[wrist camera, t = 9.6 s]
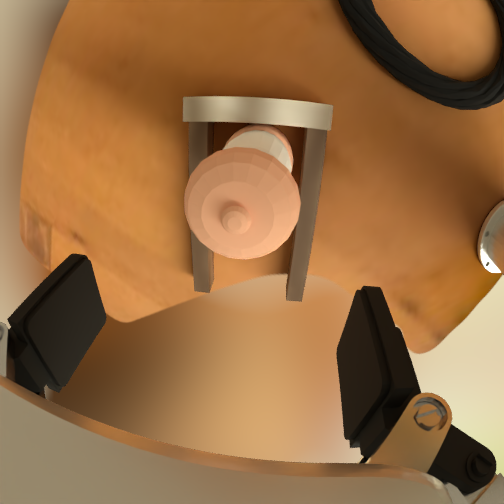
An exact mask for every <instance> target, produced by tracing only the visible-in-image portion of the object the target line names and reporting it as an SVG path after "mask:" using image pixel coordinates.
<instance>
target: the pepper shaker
mask: <svg viewBox="0 0 504 504" xmlns="http://www.w3.org/2000/svg"><path fill="white" fill-rule="evenodd" d="M292 167H293V155H292V150H291V146H290V143H289V141H288V139H287V138H286V136H285V135H284V134H283V133H282V132H281V131H280V130H278V129H277V128H275V127H273V126H271V125H268V124H260V123H256V124H251V125H247V126H245V127H243V128H242V129H240V130H238V131H237V132H236V133H234V134H233V135H232V137H231V138H230V139H229V140H228V141H227V142H226V145H225V147H224V149H223V150H220V151H217V152H215V153H214V154H212V155H210V156H209V157H207V158H206V159H204V160H203V161H201V162H200V164H199V165H198V166H197V167H196V169H195V170H194V171H193V173H192V174H191V175H190V178H189V181H188V184H187V187H186V190H185V195H184V211H185V215H186V218H187V221H188V224H189V227H190V229H191V230H192V231H193V233H194V234H195V236H196V237H197V238H198V240H199V241H200V242H201V243H203V244H204V245H205V246H207V247H208V248H209V249H210V250H212V251H213V252H216V253H218V254H221V255H223V256H226V257H228V258H236V259H244V260H245V259H251V258H258V257H262V256H264V255H266V254H268V253H271V252H273V251H275V250H276V249H277V248H279V247H280V246H281V245H282V244H283V243H284V242H285V241H286V240H287V239H288V238H289V236H290V235H291V233H292V231H293V229H294V227H295V225H296V223H297V222H298V218H299V212H300V206H301V201H300V195H299V190H298V185H297V184H296V182H295V180H294V178H293V176H292V175H291V171H292Z"/></svg>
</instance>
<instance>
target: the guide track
mask: <svg viewBox="0 0 504 504" xmlns="http://www.w3.org/2000/svg"><path fill="white" fill-rule="evenodd" d="M332 114H333V105H328V104H321V103H314V102H305V101H296V100H286V99H273V98H258V97H231V96H199V97H183V122H189V178H190V175H191V174H192V173H193V171H194V170H195V169H196V167H197V166H198V165H199V164H200V162H201V161H203V160H204V159H206V158H207V157H209V156H210V155H212V154H213V138H214V122H242V123H261V124H275V125H286V126H296V127H305V132H304V142H303V153H302V163H301V172H300V182H299V195H300V201H301V206H300V212H299V218H298V222H297V223H296V225H295V227H294V233H293V241H292V248H291V256H290V263H289V270H288V279H287V285H286V300H289V301H302V297H303V291H304V286H305V280H306V275H307V270H308V264H309V258H310V253H311V247H312V240H313V234H314V228H315V221H316V215H317V208H318V201H319V194H320V187H321V179H322V172H323V164H324V155H325V147H326V138H327V130H329V131H331V124H332ZM191 244H192V261H193V276H194V290H195V291H198V292H206V293H210V290H211V287H212V284H213V281H214V265H213V251H212V250H210V249H209V248H208V247H207V246H205V245H204V244H203V243H201V242H200V241H199V240H198V238H197V237H196V236H195V234H194V233H193V231H192V230H191Z"/></svg>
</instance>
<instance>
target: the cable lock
mask: <svg viewBox="0 0 504 504" xmlns="http://www.w3.org/2000/svg"><path fill="white" fill-rule="evenodd" d="M491 2H492V4H493V6H494V8H495V10H496V12H497V15H498V19H499V23H500V28H501V33H502V49H501V54H500V58H499V61H498V63H497V65H496V67H495V69H494V70H493V71H492V72H491V73H490V74H489V75H488V76H486V77H483V78H481V79H479V80H477V81H470V82H462V81H458V80H454V79H451V78H449V77H446V76H444V75H441V74H438V73H436V72H434V71H432V70H430V69H429V68H428V67H427V66H426V65H424V64H423V63H422V62H421V61H419V60H418V59H417V58H416V57H414V56H413V55H412V54H411V53H409V52H408V51H407V50H406V49H405V48H404V47H403V46H402V45H400V44H399V43H398V42H397V40H396V39H395V38H394V37H393V35H392V34H391V32H390V31H389V29H388V28H387V26H386V25H385V24H384V22H383V21H382V20H381V18H380V17H379V16H378V14H377V13H376V11H375V8H374V5H373V2H372V0H339V3H340V5H341V8H342V10H343V13H344V14H345V16H346V18H347V20H348V21H349V23H350V25H351V27H352V29H353V31H354V32H355V34H356V35H357V37H358V38H359V39H360V41H361V42H362V43H363V45H364V46H365V48H366V49H367V50H368V51H369V52H370V53H371V54H372V55H373V56H374V58H375V59H376V60H377V61H378V62H379V63H380V64H381V65H382V66H384V67H385V68H386V69H387V70H388V71H389V72H390V73H391V74H392V75H393V76H394V77H395V78H396V79H398V80H399V81H400V82H402V83H403V84H405V85H406V86H408V87H409V88H411V89H412V90H414V91H416V92H417V93H419V94H421V95H423V96H425V97H426V98H427V99H430V100H432V101H435V102H437V103H440V104H442V105H444V106H448V107H452V108H456V109H460V110H478V109H481V108H486V107H489V106H491V105H494V104H496V103H499V102H501V101H502V100H503V99H504V0H491Z"/></svg>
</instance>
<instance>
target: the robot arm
mask: <svg viewBox="0 0 504 504" xmlns="http://www.w3.org/2000/svg"><path fill="white" fill-rule="evenodd" d="M477 249H478V257H479V260H480V262H481V264H482V265H483V266H484V268H485V269H487V270H488V271H490V272H492V273H500V272H501V273H502V274H503V275H504V200H503V201H501V202H500V203H499V204H497V205H496V206H495V207H494V208H493V209H492V211H491V212H490V213H489V215H488V216H487V218H486V219H485V221H484V223H483V225H482V228H481V231H480V234H479V238H478V246H477ZM8 322H9V324H10V326H11V328H10V329H8V328H7V326H6V324H4V323H2V322H0V504H504V477H503V476H502V474H501V473H499V474H498V475H496V473H495V472H496V460H495V457H494V455H493V453H492V452H491V451H490V450H489V449H488V448H487V447H485V446H484V445H482V444H480V443H479V442H477V441H476V440H474V439H473V438H471V437H470V436H468V435H467V434H465V433H464V432H462V431H461V430H459V429H458V428H456V427H455V426H453V425H452V424H451V421H452V412H451V409H450V407H449V405H448V404H447V402H446V401H445V400H444V399H443V398H441V397H440V396H438V395H435V394H433V393H421V391H420V387H419V384H418V380H417V377H416V374H415V371H414V368H413V365H412V361H411V358H410V355H409V352H408V349H407V346H406V344H405V341H404V338H403V335H402V332H401V330H400V329H399V328H398V327H395V324H394V321H393V318H392V316H391V313H390V310H389V308H388V305H387V302H386V300H385V297H384V295H383V292H382V290H381V288H380V287H373V286H363V287H362V289H361V290H357V291H356V293H355V296H354V299H353V302H352V306H351V309H350V312H349V315H348V318H347V321H346V324H345V327H344V330H343V333H342V335H341V338H340V341H339V344H338V347H337V364H338V373H339V382H340V392H341V402H342V414H343V427H344V437H345V439H346V440H350V448H355V447H356V448H357V447H360V450H361V455H363V457H362V458H361V459H360V460H359V462H358V463H301V462H284V461H272V460H260V459H251V458H242V457H235V456H227V455H221V454H215V453H209V452H204V451H199V450H193V449H189V448H184V447H180V446H176V445H172V444H168V443H164V442H160V441H156V440H152V439H149V438H145V437H142V436H139V435H135V434H132V433H129V432H126V431H123V430H120V429H116V428H114V427H111V426H108V425H106V424H103V423H100V422H97V421H95V420H92V419H90V418H87V417H85V416H82V415H80V414H78V413H75V412H73V411H71V410H68V409H66V408H64V407H62V406H60V405H57V404H55V403H53V402H51V401H49V400H47V399H46V397H45V390H44V387H45V385H47V386H48V387H49V388H50V389H52V390H54V391H56V392H60V390H61V389H62V387H63V386H66V384H67V383H68V381H69V380H70V378H71V376H72V374H73V373H74V371H75V370H76V368H77V366H78V365H79V363H80V361H81V360H82V358H83V357H84V355H85V353H86V352H87V350H88V349H89V347H90V345H91V344H92V342H93V341H94V339H95V338H96V336H97V335H98V333H99V332H100V330H101V329H102V327H103V326H104V324H105V322H106V313H105V310H104V307H103V303H102V300H101V297H100V293H99V290H98V286H97V283H96V279H95V275H94V272H93V268H92V264H91V261H90V260H88V257H87V256H85V255H81V254H71V255H70V256H69V257H68V258H66V259H65V260H64V261H63V262H62V263H61V264H60V265H59V266H58V267H57V268H56V269H55V270H54V271H53V272H52V273H51V274H50V275H49V276H48V277H47V278H46V279H45V280H44V281H43V282H42V283H41V284H40V285H39V286H38V287H37V288H36V289H35V290H34V291H33V292H32V293H31V294H30V295H29V296H28V297H27V298H26V300H24V302H23V303H22V304H21V305H20V306H19V307H18V308H17V309H16V310H15V311H14V313H13V314H12V315H11V316H10V317H9V318H8Z"/></svg>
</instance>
